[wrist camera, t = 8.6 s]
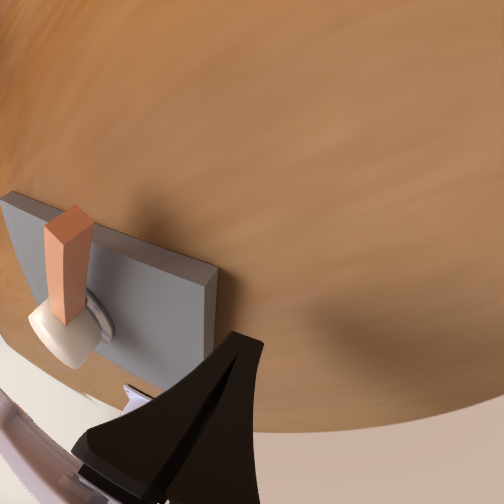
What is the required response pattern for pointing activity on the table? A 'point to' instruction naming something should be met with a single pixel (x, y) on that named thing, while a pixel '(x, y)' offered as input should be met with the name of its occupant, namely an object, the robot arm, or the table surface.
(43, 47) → the table surface
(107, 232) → the base plate
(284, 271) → the table surface
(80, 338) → the handle
